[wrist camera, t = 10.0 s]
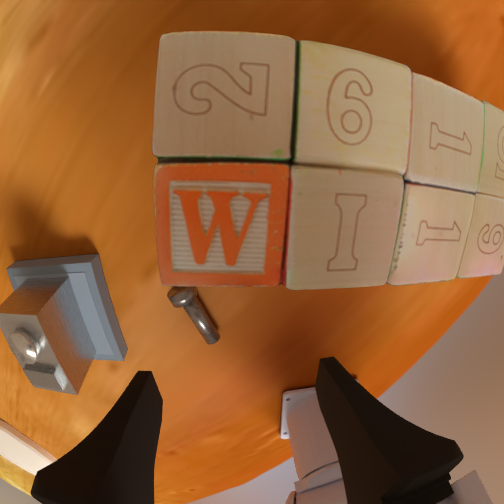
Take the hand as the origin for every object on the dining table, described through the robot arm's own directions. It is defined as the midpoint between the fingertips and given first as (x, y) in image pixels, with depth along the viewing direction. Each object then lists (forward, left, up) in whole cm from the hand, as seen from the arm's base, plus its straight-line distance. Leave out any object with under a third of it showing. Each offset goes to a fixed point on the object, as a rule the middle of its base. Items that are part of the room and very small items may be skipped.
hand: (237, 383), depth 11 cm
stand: (-2, +14, -10) cm, 17 cm away
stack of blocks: (+8, -9, -10) cm, 16 cm away
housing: (-2, +14, -8) cm, 16 cm away
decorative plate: (-38, +49, -11) cm, 63 cm away
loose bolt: (-3, +3, -10) cm, 11 cm away
